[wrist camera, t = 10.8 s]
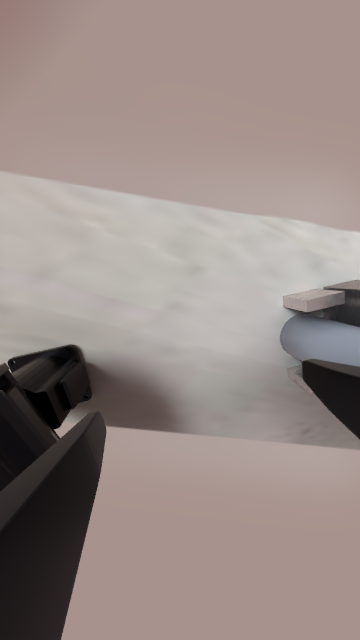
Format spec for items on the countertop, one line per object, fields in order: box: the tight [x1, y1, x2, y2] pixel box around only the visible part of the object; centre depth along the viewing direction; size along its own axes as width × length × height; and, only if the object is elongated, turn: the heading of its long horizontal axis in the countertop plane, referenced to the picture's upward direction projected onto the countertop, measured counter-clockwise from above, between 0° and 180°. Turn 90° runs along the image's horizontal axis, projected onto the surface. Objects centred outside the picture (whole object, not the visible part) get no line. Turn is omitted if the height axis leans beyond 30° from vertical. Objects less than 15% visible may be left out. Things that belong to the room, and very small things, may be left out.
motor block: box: [283, 280, 360, 393], centre depth 19 cm, size 9×10×8 cm
